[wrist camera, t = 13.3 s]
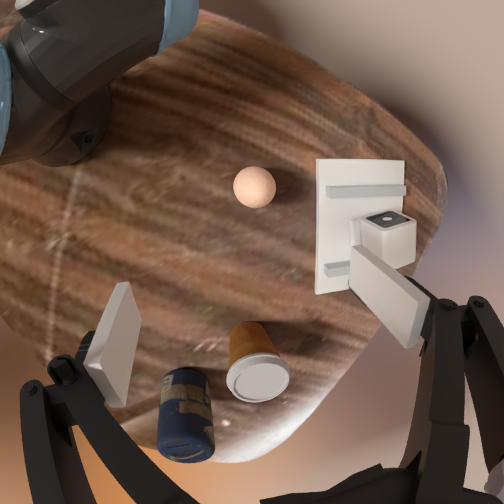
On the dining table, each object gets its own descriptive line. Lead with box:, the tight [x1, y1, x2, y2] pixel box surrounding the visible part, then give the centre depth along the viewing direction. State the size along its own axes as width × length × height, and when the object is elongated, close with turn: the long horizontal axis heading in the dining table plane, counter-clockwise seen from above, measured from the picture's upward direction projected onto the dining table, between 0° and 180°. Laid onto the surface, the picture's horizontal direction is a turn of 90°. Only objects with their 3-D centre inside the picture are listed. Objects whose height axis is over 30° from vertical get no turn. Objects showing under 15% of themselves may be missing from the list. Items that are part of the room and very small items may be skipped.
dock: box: [315, 159, 406, 295], centre depth 44 cm, size 22×16×3 cm
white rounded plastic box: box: [349, 210, 417, 269], centre depth 40 cm, size 6×7×10 cm
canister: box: [157, 369, 215, 463], centre depth 43 cm, size 10×10×18 cm
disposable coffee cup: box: [226, 321, 290, 402], centre depth 44 cm, size 10×10×12 cm
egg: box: [234, 166, 276, 208], centre depth 36 cm, size 5×5×8 cm
